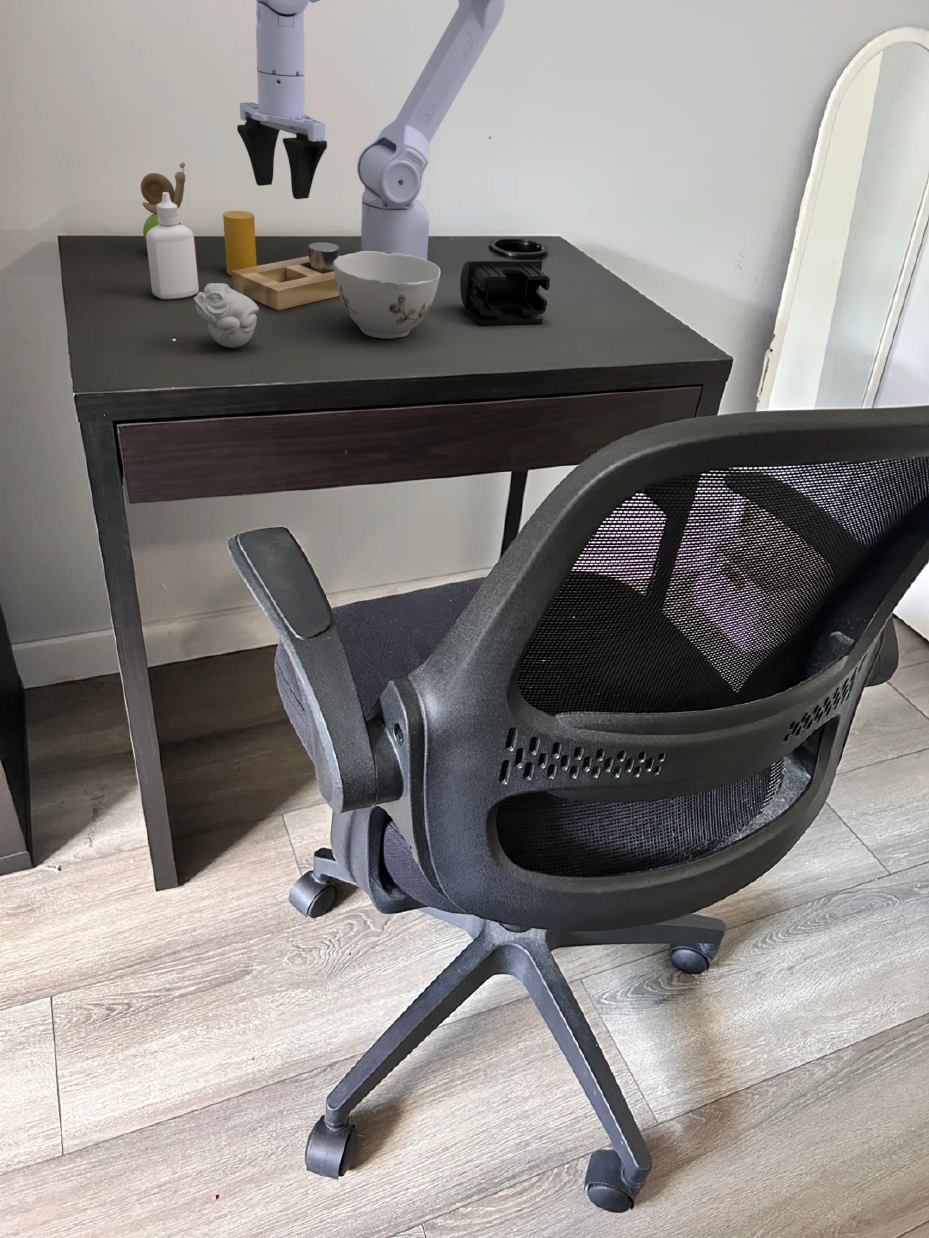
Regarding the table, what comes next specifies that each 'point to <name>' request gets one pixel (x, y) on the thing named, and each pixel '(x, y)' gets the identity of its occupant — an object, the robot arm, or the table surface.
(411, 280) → the teacup
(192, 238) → the eye dropper bottle
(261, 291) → the peg stand
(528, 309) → the end cap
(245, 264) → the yellow peg
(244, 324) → the frog figurine
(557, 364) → the table surface
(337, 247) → the steel peg
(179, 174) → the snail figurine
